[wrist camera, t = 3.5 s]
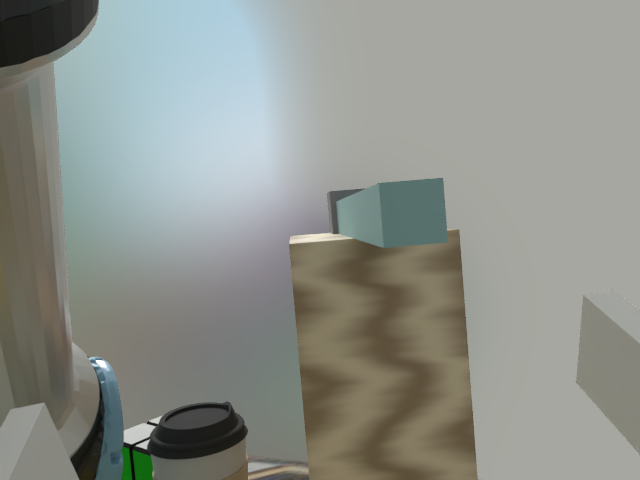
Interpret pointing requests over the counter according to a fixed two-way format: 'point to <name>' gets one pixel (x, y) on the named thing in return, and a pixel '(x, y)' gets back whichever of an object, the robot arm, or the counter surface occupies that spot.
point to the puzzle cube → (138, 452)
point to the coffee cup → (199, 444)
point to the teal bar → (391, 213)
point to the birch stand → (383, 359)
